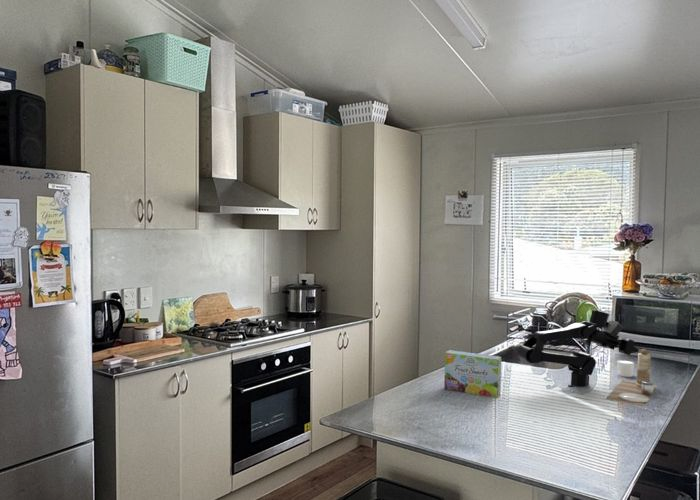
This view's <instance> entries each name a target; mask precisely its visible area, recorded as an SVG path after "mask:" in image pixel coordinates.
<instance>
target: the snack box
mask: <svg viewBox="0 0 700 500" xmlns="http://www.w3.org/2000/svg"><path fill="white" fill-rule="evenodd" d="M501 379H502V356H497V355H489V354H485V353H483V354H482V353H475V352H468V351H459V350H453V349H449V350H447V351H445V352H444V382H443V389H444V390H449V391H455V392H461V393H466V394H471V395H479V396H485V397H490V398H495V399H497V398H499V396H500V395H501V382H502V380H501Z"/></svg>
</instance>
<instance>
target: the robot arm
mask: <svg viewBox="0 0 700 500" xmlns="http://www.w3.org/2000/svg"><path fill="white" fill-rule="evenodd" d="M609 317H610V313H607V312H604V311H600V310H597V309H592V310H591V315H590V318H589V321H587V320H584V321H581V322H574V323H572V324H569V325H567V326H565V327H561V328H556V329H555V328H554V329H550V330H543V331H535V332H533V334H532V336H531V337H529V338H528V339H527V340H525V341H524V342H523V344H522V345H521V346H520V347H519V348H518V350H517V357H518V358H519V360H522V361H524V362H527V363H529V364H539V363H540V364H541V363H542V362H546V363H551V364H552V363H553V364H561V365H567V368H568V370H569V371H571V372H570V377H571V378H570V384H567V386H568V387H569V388H574V387H579V388H587V386H589V385H590V376H592V375H593V372H594V369H595V366H596V359H595V357H593V356H591V354H590V353H586V352H584V351H575V350H573V351H572V353H571V354H565V353H561V352H560V353H557V352H552V351H544V347H545V344H546V343H548V342H554V341H559V340H560V341H561V340H566V339H567V340H568V339H574V340H575V339H576V340H582V343H583V345H585V346H589V347H591V344H592V343H593V344H595V345H596V346H598V347H602V348H605V349H611V350H615V349H616V348H618V352H619V353H621V354H623V355H626V356H631V355H632V354H637V353H639V348H637V347H636V346H635V340H634V339H630V338H626V337H623V338H622V339H619V338H620V335H619V334H620V332H622V330H623V329H624V326H623V325H622V324H621V323H619V321H615V320H609ZM608 320H609V321H608ZM602 329H604V330H602Z"/></svg>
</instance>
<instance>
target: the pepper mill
mask: <svg viewBox="0 0 700 500" xmlns="http://www.w3.org/2000/svg"><path fill="white" fill-rule="evenodd" d="M651 357H652V356H651V354H649V351H648V349H646V348H642V349H641V351H640V352H637V371H636V372H637V373H636V374H637V375H636V386H638V387H642V381H650V380H651V379H650V378H651V361H652V360H651ZM650 382H651V381H650Z"/></svg>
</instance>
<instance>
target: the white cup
mask: <svg viewBox="0 0 700 500" xmlns="http://www.w3.org/2000/svg"><path fill="white" fill-rule="evenodd" d="M616 364H617V365H616V367H617V375H618V376H621V377H627V378H630V377H631V378H632V377H633V375H634V368H635V362H634V361H631V360H624V359H623V360H619V359H618V360H617V363H616Z"/></svg>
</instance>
